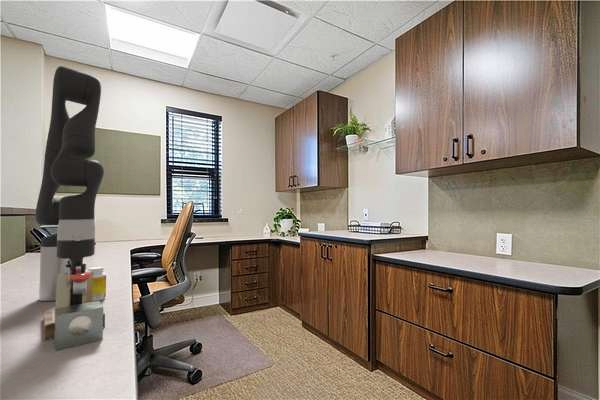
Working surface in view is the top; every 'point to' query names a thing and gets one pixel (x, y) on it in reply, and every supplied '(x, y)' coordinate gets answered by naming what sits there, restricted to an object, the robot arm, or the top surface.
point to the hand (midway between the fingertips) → (74, 304)
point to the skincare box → (64, 293)
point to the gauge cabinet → (78, 325)
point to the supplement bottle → (98, 283)
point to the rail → (50, 325)
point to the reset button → (79, 282)
